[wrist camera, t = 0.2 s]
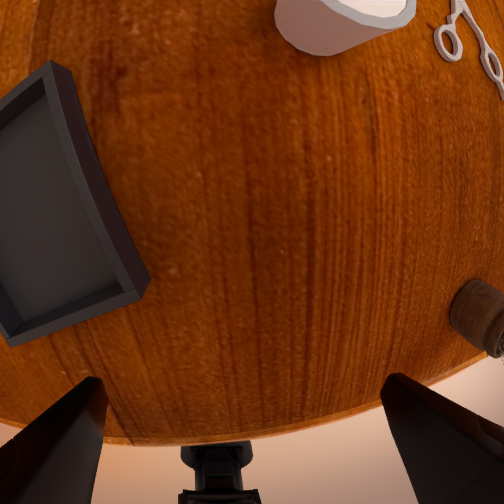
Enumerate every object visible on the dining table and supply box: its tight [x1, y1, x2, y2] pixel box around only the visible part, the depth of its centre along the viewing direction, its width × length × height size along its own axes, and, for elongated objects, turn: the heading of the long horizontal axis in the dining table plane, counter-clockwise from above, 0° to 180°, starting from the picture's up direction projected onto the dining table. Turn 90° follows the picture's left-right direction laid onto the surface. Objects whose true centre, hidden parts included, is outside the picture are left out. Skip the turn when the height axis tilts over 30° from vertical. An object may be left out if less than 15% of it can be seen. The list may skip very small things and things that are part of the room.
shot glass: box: [274, 0, 416, 56], centre depth 11 cm, size 7×7×7 cm
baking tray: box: [0, 60, 151, 348], centre depth 14 cm, size 16×14×3 cm
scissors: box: [434, 0, 504, 100], centre depth 13 cm, size 11×1×20 cm
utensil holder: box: [450, 280, 504, 361], centre depth 18 cm, size 6×6×12 cm
